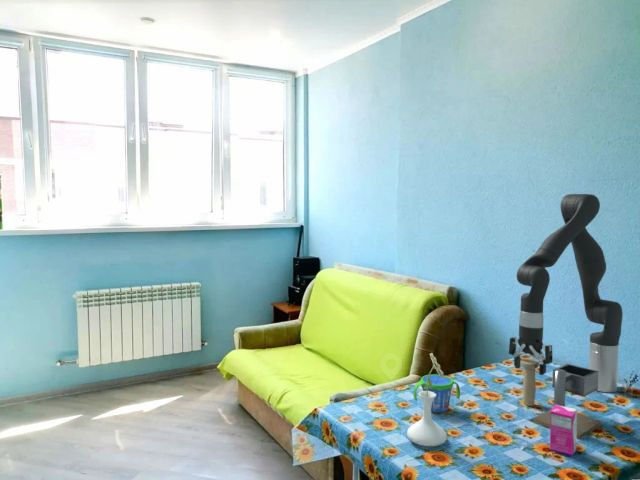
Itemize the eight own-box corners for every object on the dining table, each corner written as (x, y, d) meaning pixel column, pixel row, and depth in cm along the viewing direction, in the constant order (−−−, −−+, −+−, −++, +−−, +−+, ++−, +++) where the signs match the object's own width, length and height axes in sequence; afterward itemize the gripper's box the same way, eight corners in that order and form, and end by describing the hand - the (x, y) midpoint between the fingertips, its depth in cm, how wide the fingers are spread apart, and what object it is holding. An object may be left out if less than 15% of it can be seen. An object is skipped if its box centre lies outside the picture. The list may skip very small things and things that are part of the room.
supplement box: (554, 442, 136) (555, 403, 135) (577, 449, 132) (578, 409, 131) (548, 450, 131) (549, 410, 131) (572, 457, 128) (573, 416, 127)
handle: (541, 405, 162) (542, 362, 161) (527, 408, 159) (528, 365, 158) (529, 400, 166) (531, 358, 165) (516, 403, 163) (517, 360, 162)
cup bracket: (559, 408, 159) (560, 356, 158) (604, 423, 148) (606, 366, 147) (533, 422, 149) (534, 366, 148) (579, 439, 138) (581, 378, 137)
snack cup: (416, 415, 154) (416, 385, 153) (410, 402, 164) (410, 374, 164) (464, 416, 154) (465, 385, 153) (455, 402, 164) (456, 374, 164)
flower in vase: (439, 454, 129) (441, 364, 128) (400, 443, 135) (401, 357, 134) (453, 435, 140) (455, 352, 139) (417, 426, 147) (417, 346, 145)
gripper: (557, 326, 157) (555, 374, 158) (517, 319, 169) (515, 363, 170) (546, 330, 153) (544, 379, 154) (505, 321, 164) (504, 367, 165)
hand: (529, 371), depth 162 cm, fingers open, 8 cm apart
